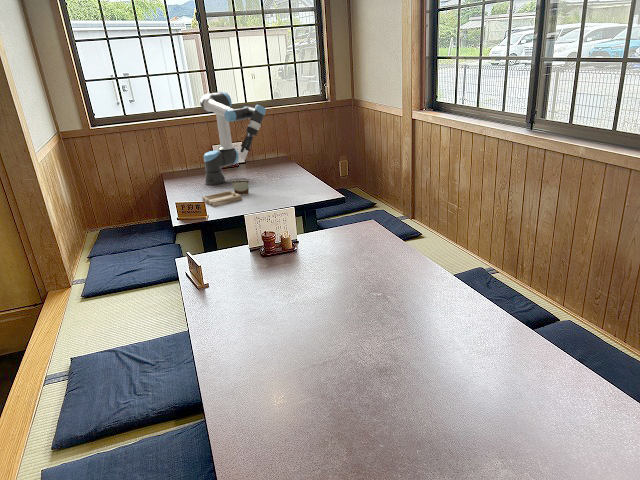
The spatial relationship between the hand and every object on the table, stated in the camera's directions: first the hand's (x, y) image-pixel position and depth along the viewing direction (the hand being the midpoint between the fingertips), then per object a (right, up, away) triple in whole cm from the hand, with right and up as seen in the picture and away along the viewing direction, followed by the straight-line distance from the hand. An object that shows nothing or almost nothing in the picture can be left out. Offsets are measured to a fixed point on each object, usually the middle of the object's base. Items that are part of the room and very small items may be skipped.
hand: (241, 158), depth 323 cm
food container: (0, -23, +8) cm, 25 cm away
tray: (-12, -29, -6) cm, 32 cm away
